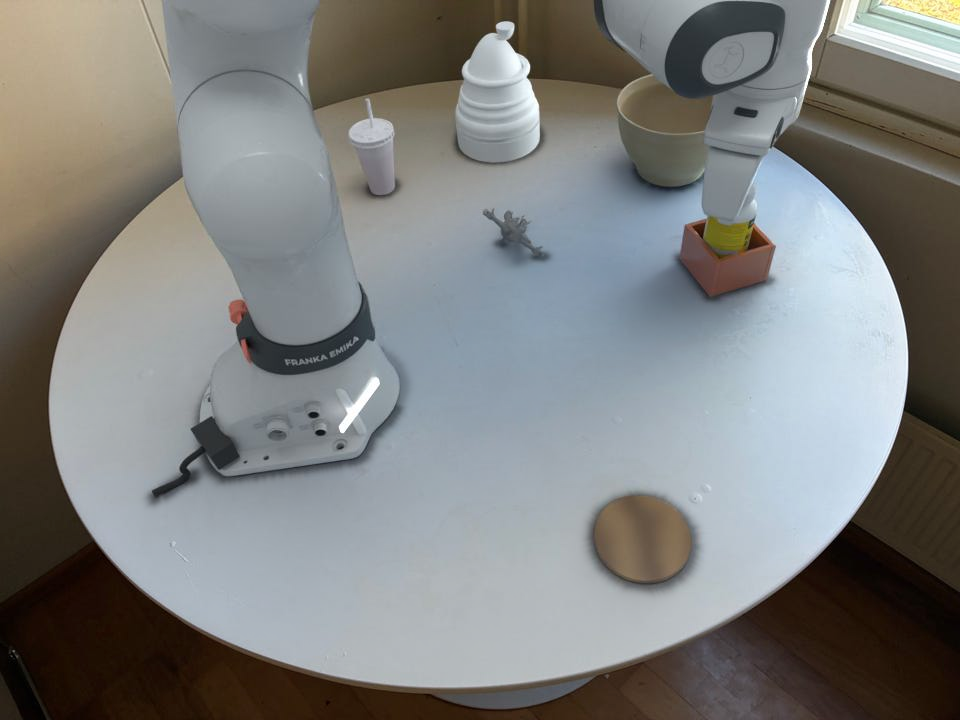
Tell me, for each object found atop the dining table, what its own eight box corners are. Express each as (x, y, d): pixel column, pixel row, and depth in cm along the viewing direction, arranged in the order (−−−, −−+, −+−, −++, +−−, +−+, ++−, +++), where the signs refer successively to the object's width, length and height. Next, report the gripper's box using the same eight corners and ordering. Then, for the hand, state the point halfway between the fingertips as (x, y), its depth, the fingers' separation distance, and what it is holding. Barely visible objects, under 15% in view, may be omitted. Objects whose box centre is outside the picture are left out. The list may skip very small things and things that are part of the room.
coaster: (618, 597, 69) (618, 594, 68) (579, 514, 75) (579, 511, 74) (708, 565, 70) (709, 562, 70) (662, 486, 76) (663, 483, 76)
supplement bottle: (746, 268, 92) (763, 201, 85) (700, 264, 93) (713, 198, 86) (745, 240, 95) (762, 173, 88) (700, 236, 96) (713, 170, 89)
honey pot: (546, 119, 123) (544, 6, 109) (531, 165, 115) (528, 48, 101) (468, 114, 125) (458, 3, 112) (448, 159, 117) (434, 45, 104)
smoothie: (412, 181, 114) (397, 95, 104) (386, 205, 111) (368, 118, 100) (378, 170, 117) (361, 85, 106) (352, 193, 113) (331, 107, 103)
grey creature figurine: (554, 223, 105) (559, 245, 97) (526, 256, 107) (529, 280, 99) (497, 179, 102) (497, 197, 94) (470, 213, 105) (468, 234, 97)
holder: (710, 297, 93) (716, 263, 89) (679, 258, 98) (684, 224, 94) (766, 280, 94) (776, 245, 90) (733, 242, 99) (741, 208, 95)
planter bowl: (645, 127, 119) (651, 61, 111) (744, 156, 112) (759, 87, 104) (592, 181, 111) (594, 113, 103) (696, 216, 104) (707, 146, 96)
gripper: (751, 44, 86) (729, 152, 96) (699, 138, 74) (680, 249, 84) (810, 53, 83) (781, 162, 94) (766, 151, 72) (738, 264, 82)
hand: (733, 204), depth 89 cm, fingers closed on supplement bottle, 5 cm apart
